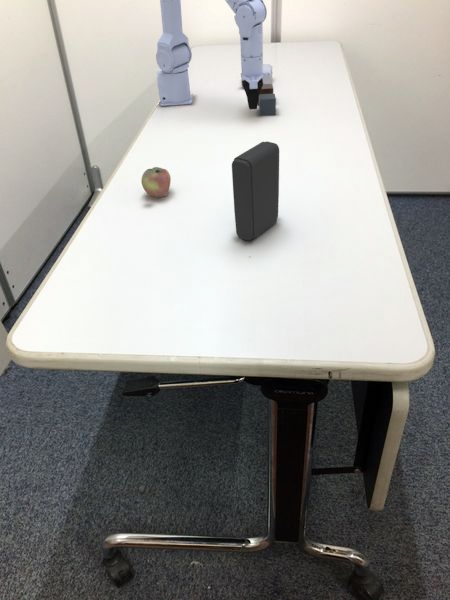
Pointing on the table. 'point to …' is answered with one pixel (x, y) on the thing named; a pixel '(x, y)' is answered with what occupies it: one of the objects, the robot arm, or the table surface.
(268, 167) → the dark grey rounded box
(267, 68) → the charger
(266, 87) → the walnut block
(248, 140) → the table surface
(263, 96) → the slate block
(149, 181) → the apple
